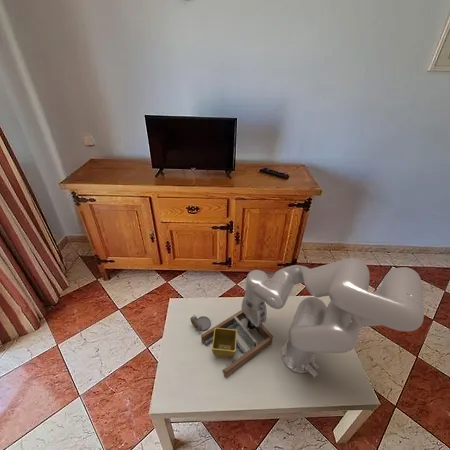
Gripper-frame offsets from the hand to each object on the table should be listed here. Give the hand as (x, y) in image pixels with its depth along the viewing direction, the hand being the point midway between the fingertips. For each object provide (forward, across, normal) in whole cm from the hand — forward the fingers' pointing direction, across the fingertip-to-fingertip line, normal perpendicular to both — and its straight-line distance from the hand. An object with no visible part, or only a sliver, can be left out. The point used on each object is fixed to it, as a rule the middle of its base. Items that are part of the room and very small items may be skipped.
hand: (251, 327), depth 106 cm
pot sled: (+4, 0, +11) cm, 12 cm away
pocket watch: (+5, +15, +15) cm, 22 cm away
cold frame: (+4, 0, +8) cm, 9 cm away
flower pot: (+5, 0, +13) cm, 14 cm away
